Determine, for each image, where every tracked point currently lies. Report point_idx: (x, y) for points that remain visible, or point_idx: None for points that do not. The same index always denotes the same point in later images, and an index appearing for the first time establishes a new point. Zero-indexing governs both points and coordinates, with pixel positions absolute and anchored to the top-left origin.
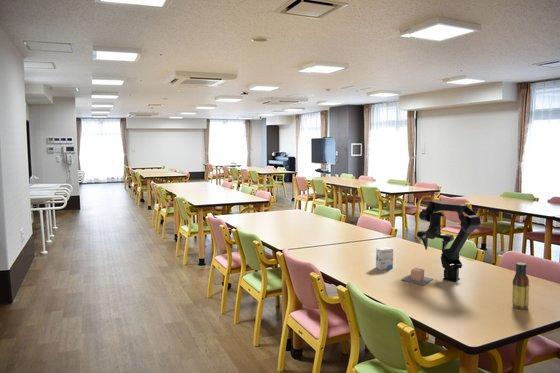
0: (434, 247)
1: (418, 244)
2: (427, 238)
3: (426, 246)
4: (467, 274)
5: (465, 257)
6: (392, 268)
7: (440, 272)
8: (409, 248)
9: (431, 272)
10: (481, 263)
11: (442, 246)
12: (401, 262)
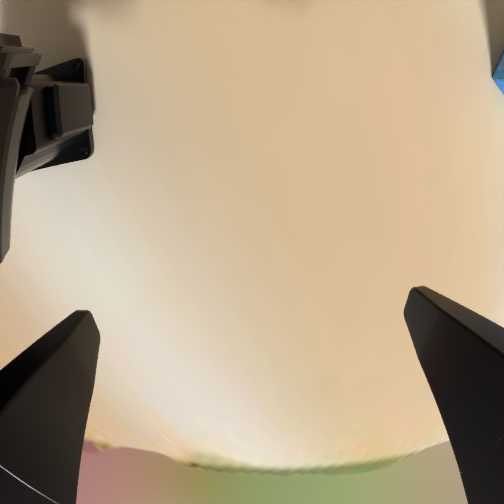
0: (363, 464)
1: (412, 450)
2: (478, 494)
3: (442, 334)
4: (56, 298)
5: (232, 464)
6: (493, 76)
7: (188, 213)
8: (440, 415)
9: (246, 158)
10: (147, 446)
11: (8, 395)
12: (480, 243)
